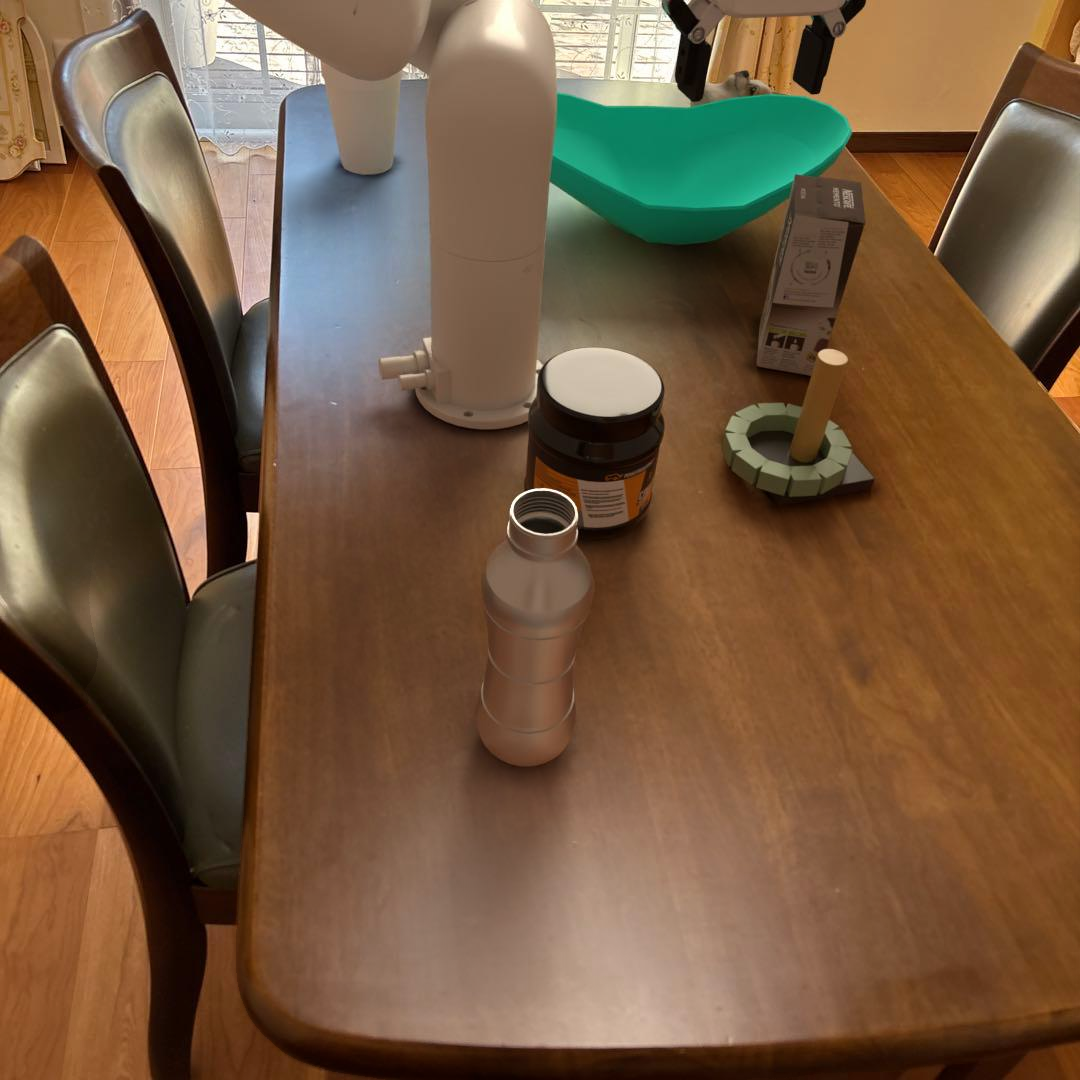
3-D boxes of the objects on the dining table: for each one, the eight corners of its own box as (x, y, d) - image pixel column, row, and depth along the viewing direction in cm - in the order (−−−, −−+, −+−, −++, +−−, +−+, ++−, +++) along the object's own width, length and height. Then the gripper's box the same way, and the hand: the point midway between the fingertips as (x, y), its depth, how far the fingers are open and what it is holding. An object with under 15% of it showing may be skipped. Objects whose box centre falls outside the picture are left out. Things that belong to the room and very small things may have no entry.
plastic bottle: (569, 696, 70) (600, 471, 56) (575, 782, 65) (611, 558, 51) (475, 695, 69) (482, 467, 55) (473, 781, 64) (481, 555, 51)
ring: (741, 498, 84) (745, 482, 83) (709, 420, 91) (712, 404, 90) (863, 494, 85) (869, 477, 84) (821, 417, 93) (826, 401, 92)
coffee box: (820, 378, 100) (867, 223, 89) (754, 367, 100) (792, 212, 89) (820, 330, 106) (864, 180, 95) (758, 320, 107) (794, 170, 96)
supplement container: (606, 564, 79) (624, 442, 71) (496, 507, 83) (502, 385, 75) (672, 495, 86) (697, 375, 77) (568, 445, 90) (581, 326, 81)
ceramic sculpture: (688, 51, 139) (792, 61, 142) (674, 115, 145) (774, 124, 148) (704, 81, 132) (814, 91, 134) (689, 147, 138) (794, 155, 140)
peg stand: (778, 506, 85) (811, 396, 78) (731, 441, 91) (757, 333, 84) (871, 489, 88) (911, 381, 80) (819, 427, 94) (852, 321, 86)
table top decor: (785, 178, 133) (810, 72, 124) (857, 287, 113) (893, 170, 104) (481, 174, 128) (484, 64, 119) (500, 288, 108) (505, 165, 99)
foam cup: (321, 152, 130) (312, 44, 121) (391, 144, 133) (388, 38, 124) (340, 184, 124) (332, 72, 115) (414, 175, 127) (411, 66, 118)
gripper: (703, -179, 59) (661, 118, 71) (954, -174, 64) (875, 104, 76) (654, -202, 64) (621, 79, 76) (889, -196, 69) (824, 68, 81)
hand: (748, 91), depth 76 cm, fingers open, 9 cm apart
